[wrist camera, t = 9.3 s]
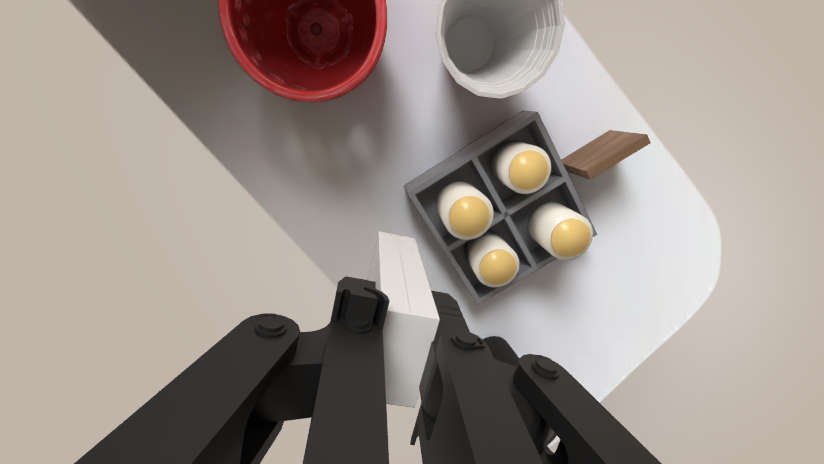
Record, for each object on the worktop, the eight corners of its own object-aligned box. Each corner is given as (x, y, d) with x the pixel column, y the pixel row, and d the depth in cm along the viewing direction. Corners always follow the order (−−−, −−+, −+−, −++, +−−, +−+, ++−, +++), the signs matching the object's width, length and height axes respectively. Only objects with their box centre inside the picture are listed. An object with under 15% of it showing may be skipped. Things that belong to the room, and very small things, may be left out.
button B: (482, 156, 47) (496, 162, 42) (521, 132, 46) (539, 136, 41) (503, 192, 48) (518, 203, 43) (540, 170, 48) (560, 177, 43)
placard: (557, 162, 50) (586, 171, 43) (609, 130, 49) (647, 134, 42) (561, 170, 50) (590, 180, 43) (613, 139, 49) (651, 144, 43)
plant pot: (229, 13, 42) (175, -21, 31) (337, -64, 41) (323, -128, 29) (307, 125, 46) (285, 133, 34) (407, 58, 45) (419, 43, 33)
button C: (457, 245, 50) (467, 261, 45) (493, 223, 49) (507, 237, 44) (477, 277, 51) (489, 296, 46) (512, 256, 51) (528, 273, 46)
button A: (427, 197, 45) (434, 209, 40) (467, 172, 45) (479, 181, 40) (450, 233, 47) (459, 250, 41) (488, 210, 46) (503, 224, 41)
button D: (520, 217, 47) (538, 231, 42) (559, 193, 46) (583, 205, 41) (539, 252, 48) (559, 269, 43) (577, 229, 48) (602, 245, 43)
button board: (404, 185, 49) (407, 193, 44) (522, 110, 47) (537, 111, 43) (469, 288, 53) (477, 304, 49) (578, 223, 52) (597, 234, 48)
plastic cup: (447, 117, 47) (470, 121, 35) (402, 22, 44) (412, -6, 32) (533, 70, 46) (586, 59, 35) (495, -30, 43) (539, -77, 31)
